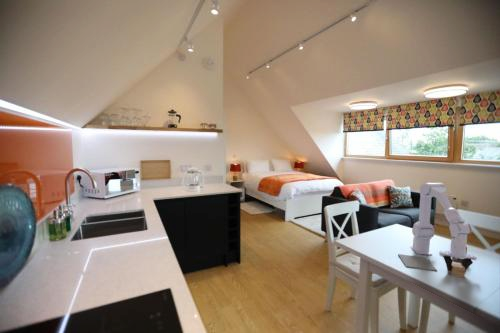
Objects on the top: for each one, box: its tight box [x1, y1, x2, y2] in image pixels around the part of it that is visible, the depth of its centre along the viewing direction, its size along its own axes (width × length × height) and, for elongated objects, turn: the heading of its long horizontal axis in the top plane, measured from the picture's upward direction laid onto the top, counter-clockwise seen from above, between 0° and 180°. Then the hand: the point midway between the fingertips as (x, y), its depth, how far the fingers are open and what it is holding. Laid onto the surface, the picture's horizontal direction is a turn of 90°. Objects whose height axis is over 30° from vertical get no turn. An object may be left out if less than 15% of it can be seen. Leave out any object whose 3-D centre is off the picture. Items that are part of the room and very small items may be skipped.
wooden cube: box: [446, 261, 466, 278], centre depth 119 cm, size 5×5×5 cm
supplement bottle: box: [451, 245, 468, 263], centre depth 132 cm, size 6×6×11 cm
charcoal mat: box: [397, 253, 438, 272], centre depth 130 cm, size 14×14×1 cm
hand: (455, 271), depth 119 cm, fingers open, 5 cm apart
